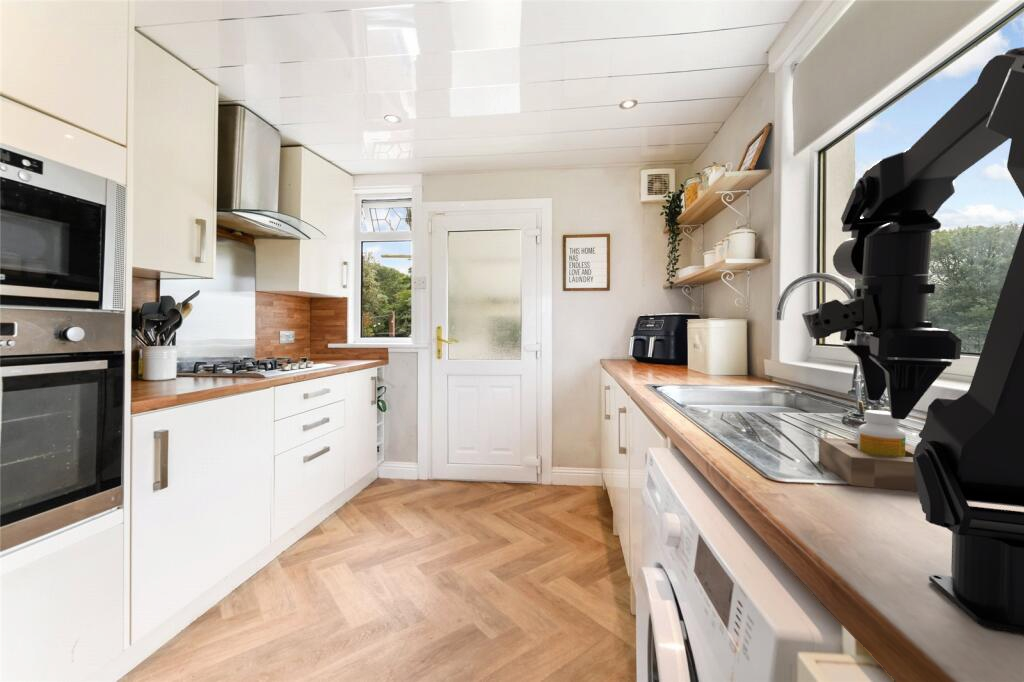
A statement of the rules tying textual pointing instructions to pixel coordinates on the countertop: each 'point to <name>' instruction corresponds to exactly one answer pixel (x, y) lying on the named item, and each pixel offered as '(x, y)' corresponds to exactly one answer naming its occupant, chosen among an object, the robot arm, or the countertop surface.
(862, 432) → the supplement bottle
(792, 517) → the countertop surface
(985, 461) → the robot arm
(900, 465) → the walnut collar
